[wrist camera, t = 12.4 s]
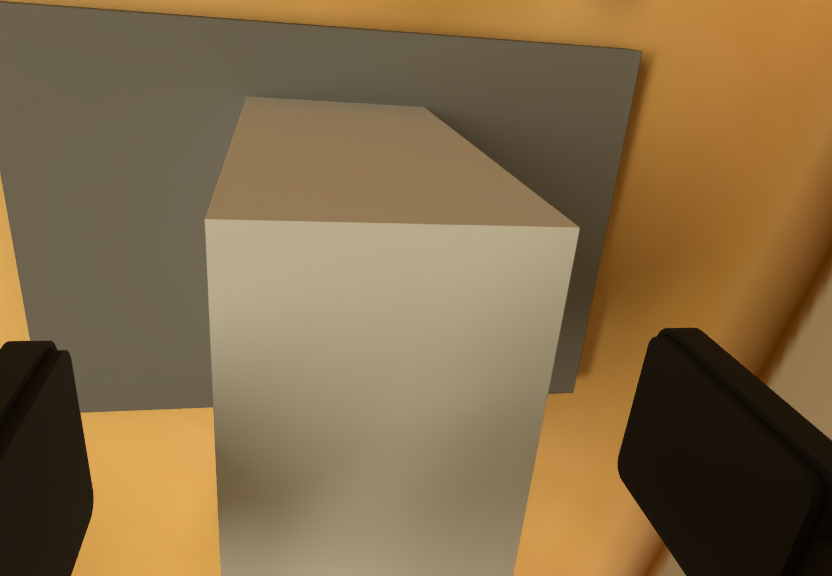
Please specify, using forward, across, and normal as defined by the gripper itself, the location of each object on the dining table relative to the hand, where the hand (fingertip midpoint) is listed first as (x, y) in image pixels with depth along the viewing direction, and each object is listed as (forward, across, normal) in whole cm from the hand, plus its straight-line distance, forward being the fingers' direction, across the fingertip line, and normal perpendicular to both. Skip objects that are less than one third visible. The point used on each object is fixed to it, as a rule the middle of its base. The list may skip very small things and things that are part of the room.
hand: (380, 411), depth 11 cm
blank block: (+10, 0, +1) cm, 10 cm away
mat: (+11, 0, +1) cm, 11 cm away
